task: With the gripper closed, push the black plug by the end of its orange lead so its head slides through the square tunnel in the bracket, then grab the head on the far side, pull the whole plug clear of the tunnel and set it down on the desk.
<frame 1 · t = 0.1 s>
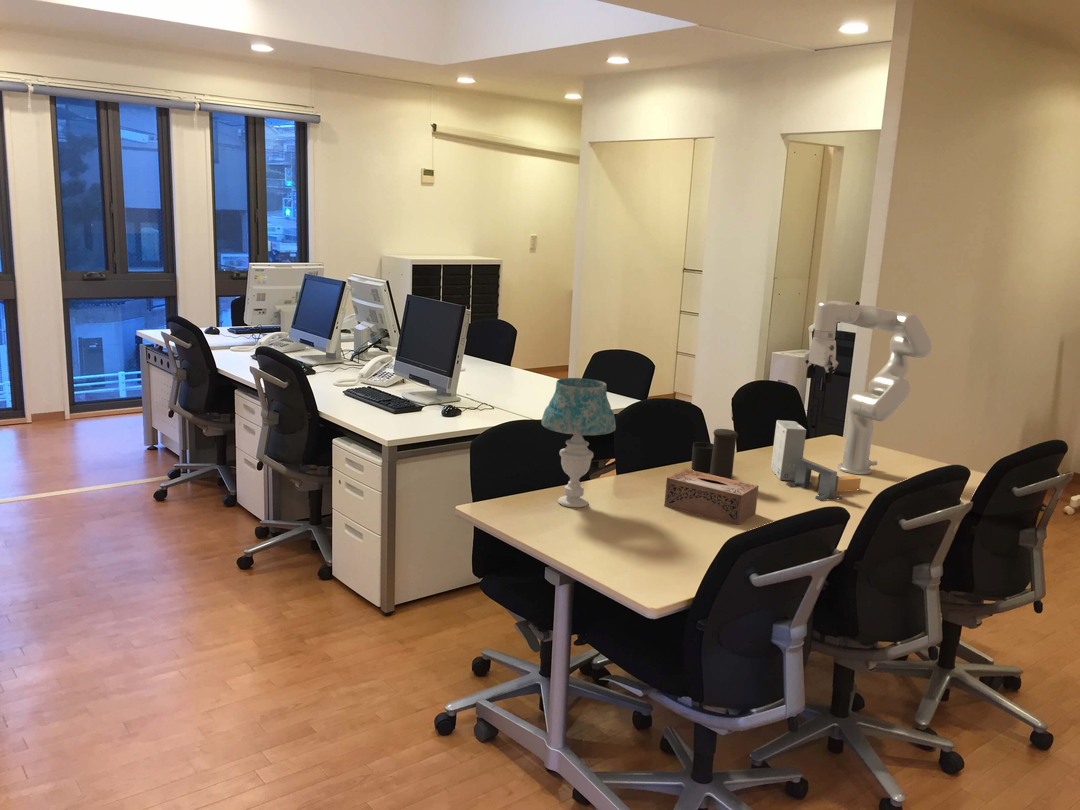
hand: (818, 380, 323), 37 cm above the table, tool pointing down, fingers open, 9 cm apart
pen holder: (702, 471, 327), on the table
plug: (838, 489, 312), on the table
container: (720, 483, 311), on the table
bracket: (813, 491, 308), on the table
table lamp: (572, 503, 279), on the table
tissue box cover: (709, 511, 280), on the table
hard drive box: (784, 475, 327), on the table
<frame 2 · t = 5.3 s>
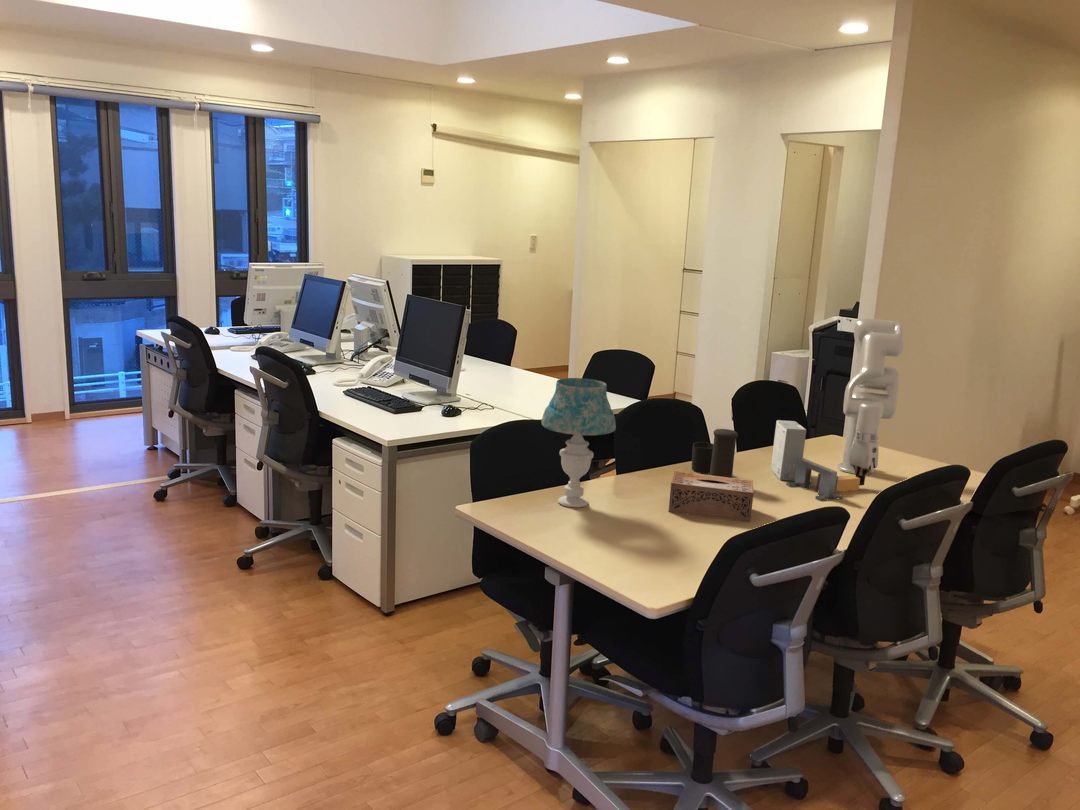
hand: (859, 484, 315), 1 cm above the table, tool pointing down, fingers closed
plug: (838, 489, 312), on the table, touching gripper
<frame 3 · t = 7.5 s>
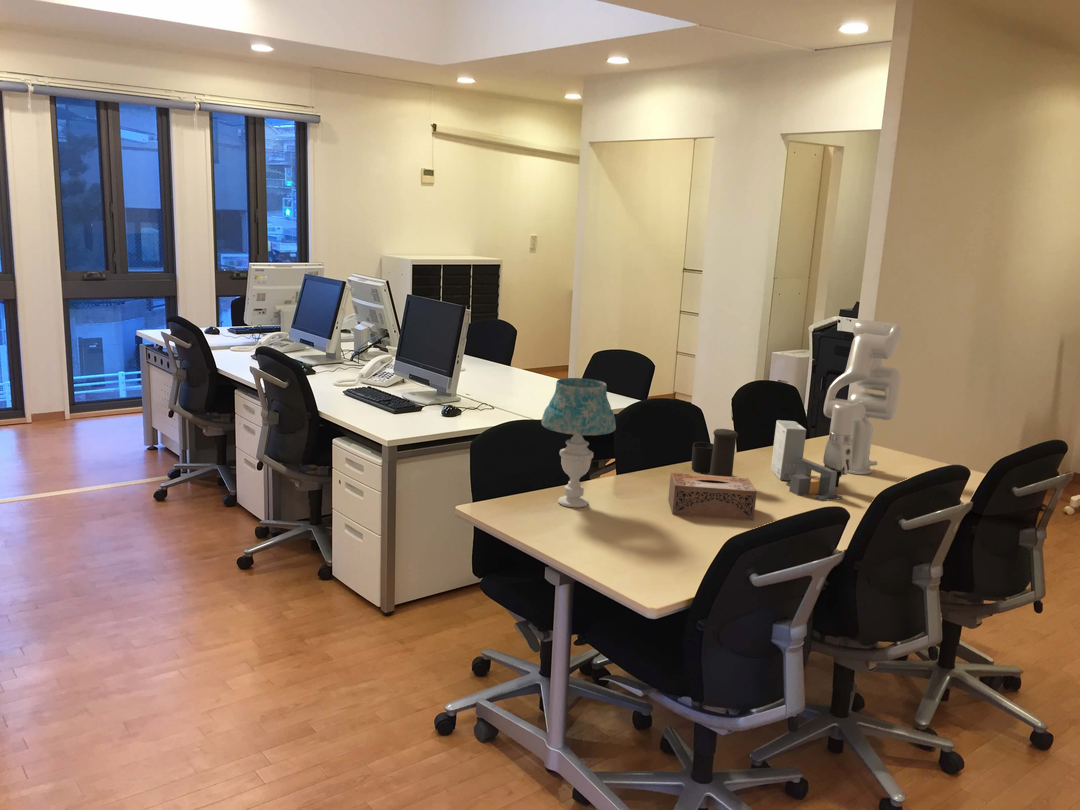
hand: (833, 486, 311), 1 cm above the table, tool pointing down, fingers closed
plug: (811, 491, 308), on the table, touching gripper
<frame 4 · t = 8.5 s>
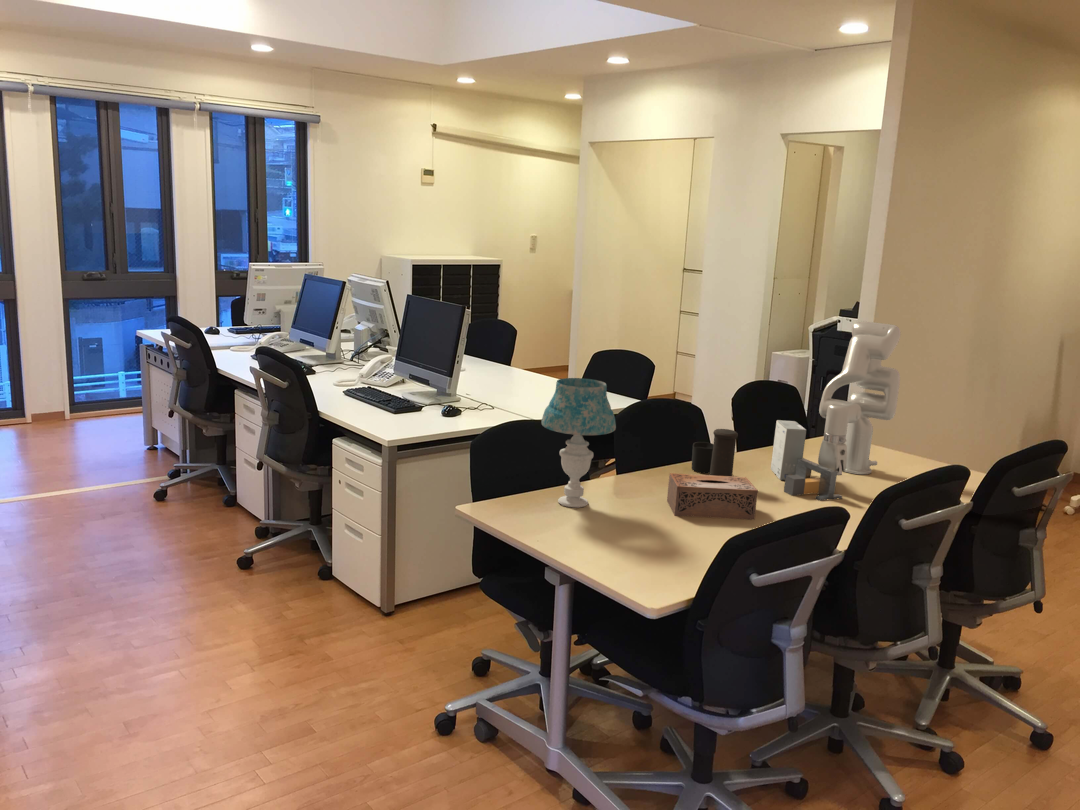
hand: (828, 487, 310), 1 cm above the table, tool pointing down, fingers closed
plug: (805, 492, 307), on the table, touching gripper
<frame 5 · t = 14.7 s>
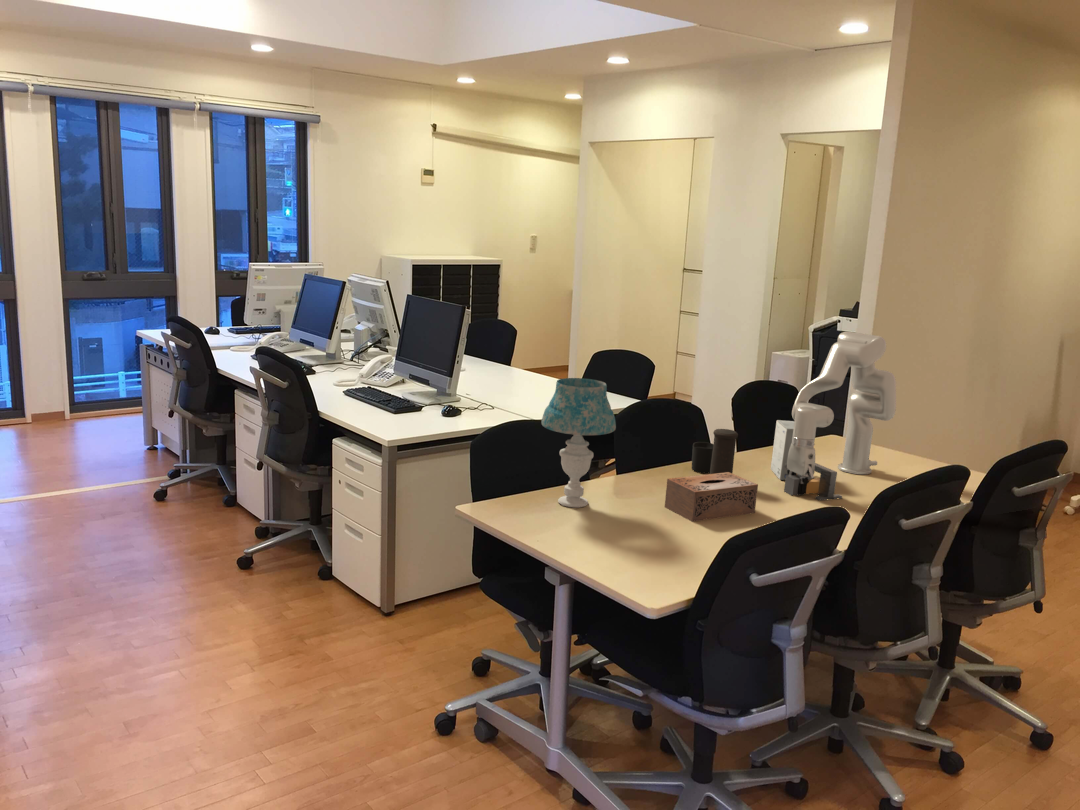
hand: (796, 491, 305), 1 cm above the table, tool pointing down, fingers closed on plug, 4 cm apart
plug: (806, 492, 306), on the table, touching gripper
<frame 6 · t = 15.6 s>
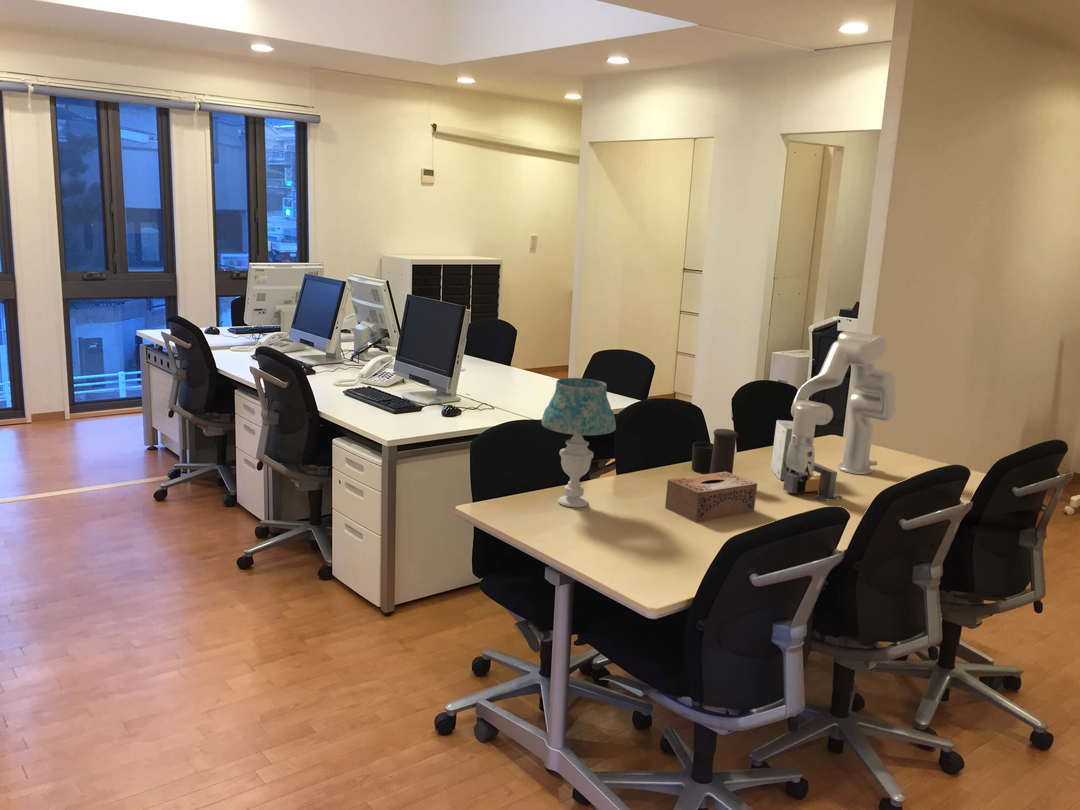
hand: (795, 488, 304), 2 cm above the table, tool pointing down, fingers closed on plug, 4 cm apart
plug: (805, 489, 306), point 1 cm above the table, touching gripper
when the fingers open (2 cm above the table, at t = 17.0 s): plug stays where it is, on the table.
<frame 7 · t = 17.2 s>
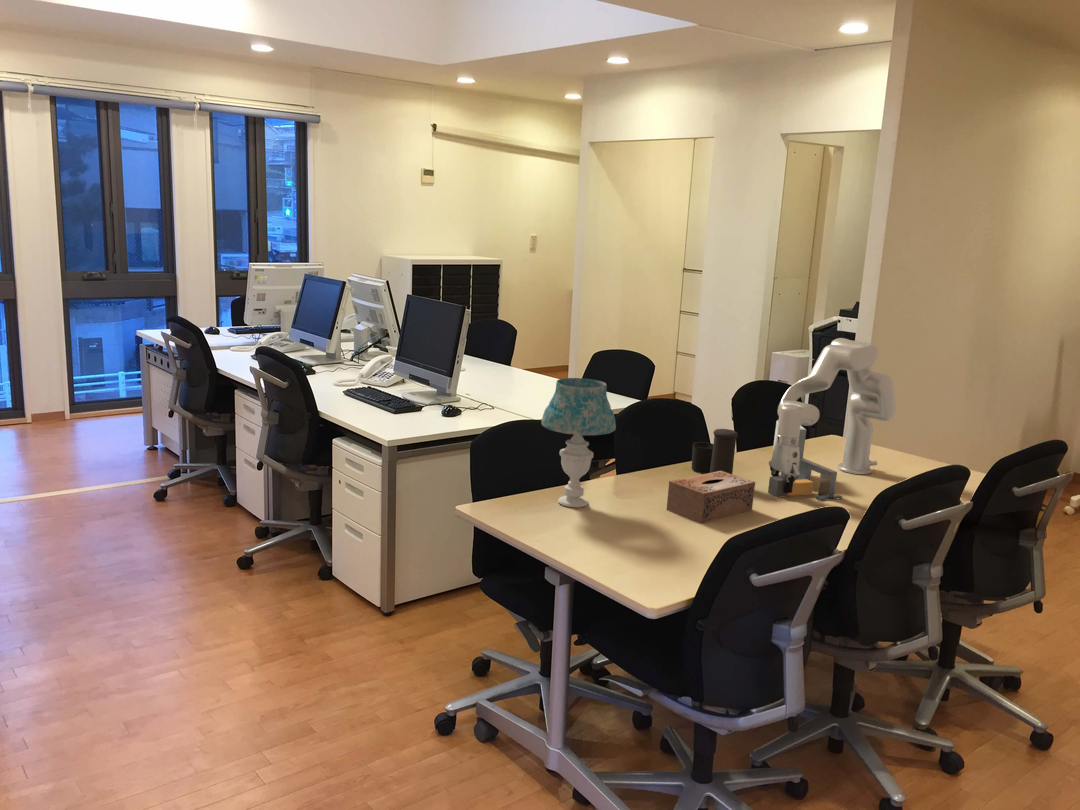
hand: (781, 489, 302), 2 cm above the table, tool pointing down, fingers open, 6 cm apart
plug: (790, 493, 304), on the table
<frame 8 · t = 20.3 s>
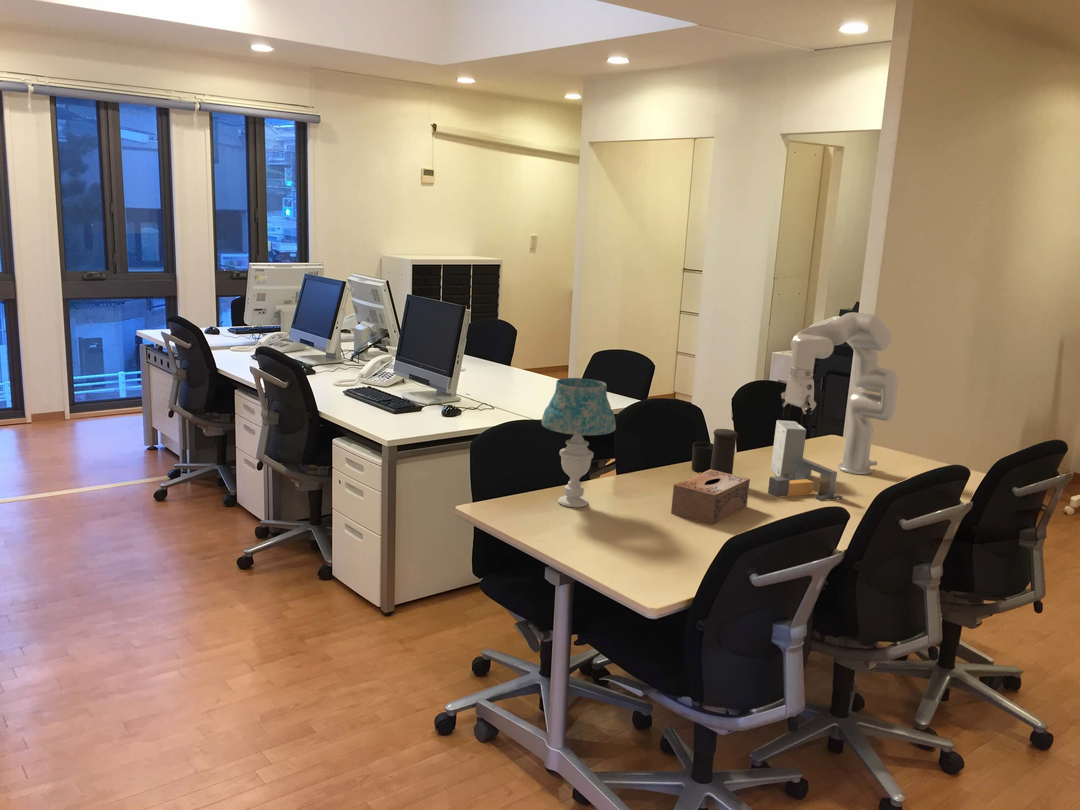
hand: (795, 421, 298), 26 cm above the table, tool pointing down, fingers open, 9 cm apart
at the end: plug inside the target area (3.8 cm from its centre), on the table; the gripper is holding nothing; plug tilted 0° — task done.
